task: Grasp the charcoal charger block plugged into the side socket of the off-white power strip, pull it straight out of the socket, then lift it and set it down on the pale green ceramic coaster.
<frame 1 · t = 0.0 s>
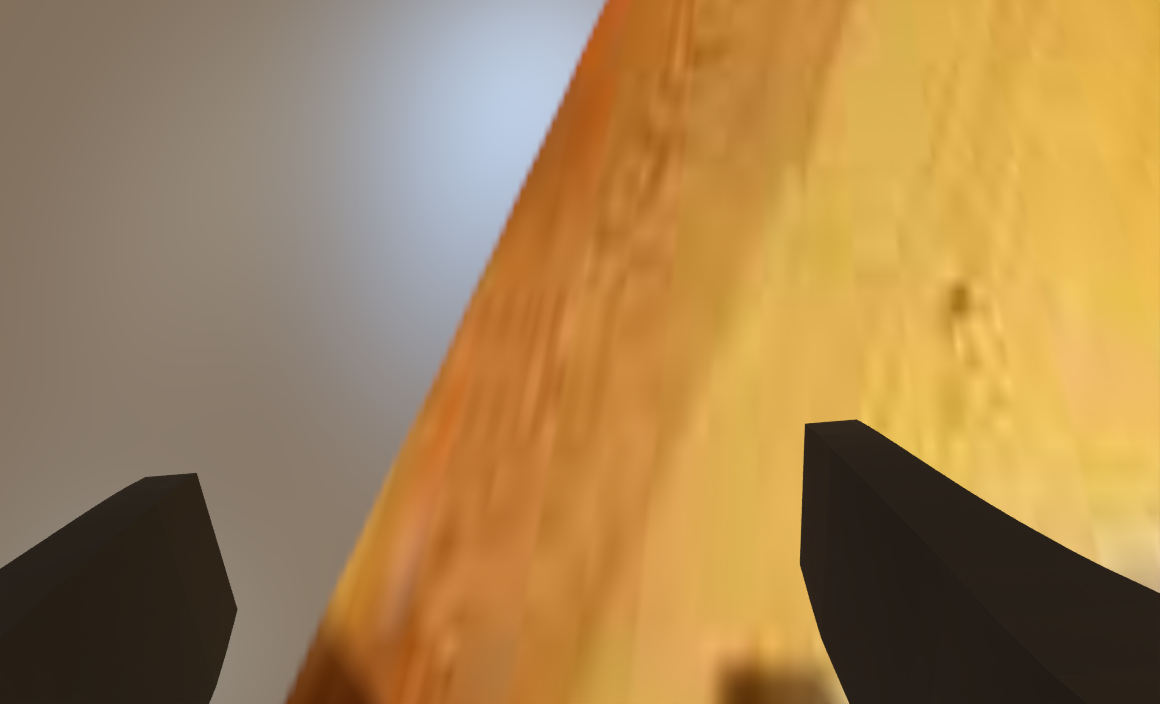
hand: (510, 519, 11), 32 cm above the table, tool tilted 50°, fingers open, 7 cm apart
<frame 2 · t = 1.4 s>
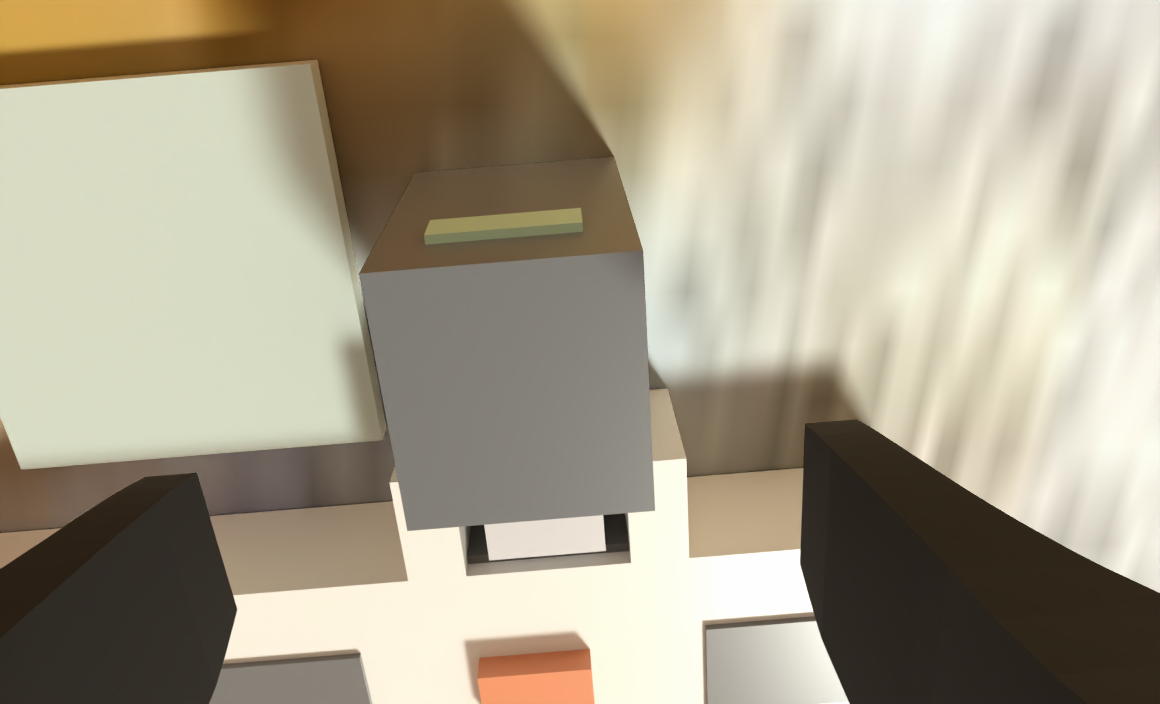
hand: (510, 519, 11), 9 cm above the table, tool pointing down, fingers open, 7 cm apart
charger: (525, 267, 19), on the table
power strip: (439, 599, 23), on the table
coaster: (163, 275, 19), on the table
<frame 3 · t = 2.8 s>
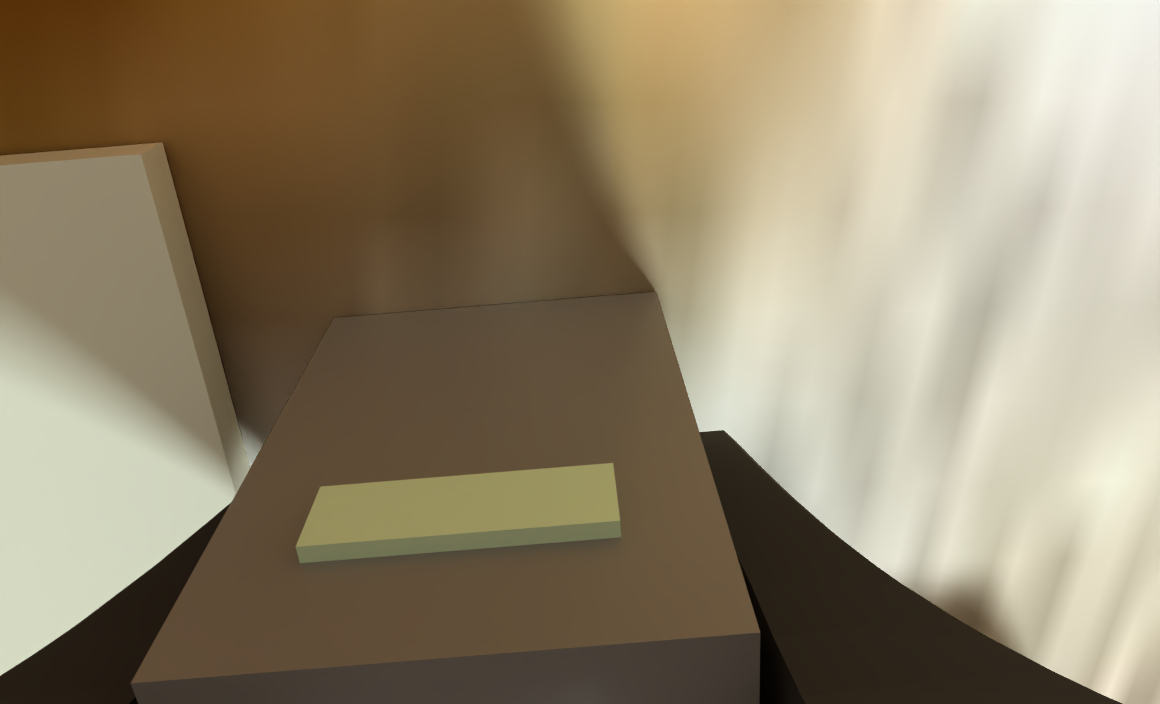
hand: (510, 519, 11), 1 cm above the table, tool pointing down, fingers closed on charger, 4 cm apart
charger: (513, 456, 12), on the table, touching gripper
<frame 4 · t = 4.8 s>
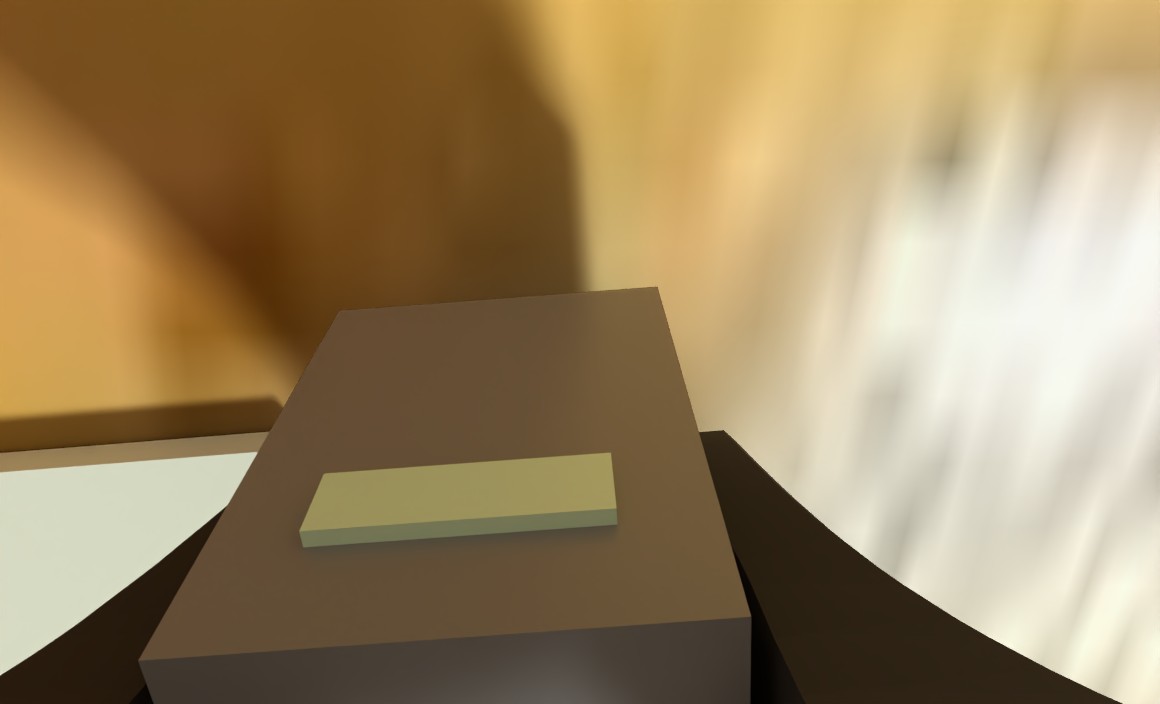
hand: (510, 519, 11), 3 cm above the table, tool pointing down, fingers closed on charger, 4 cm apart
charger: (515, 449, 12), point 2 cm above the table, touching gripper
coaster: (118, 645, 16), on the table
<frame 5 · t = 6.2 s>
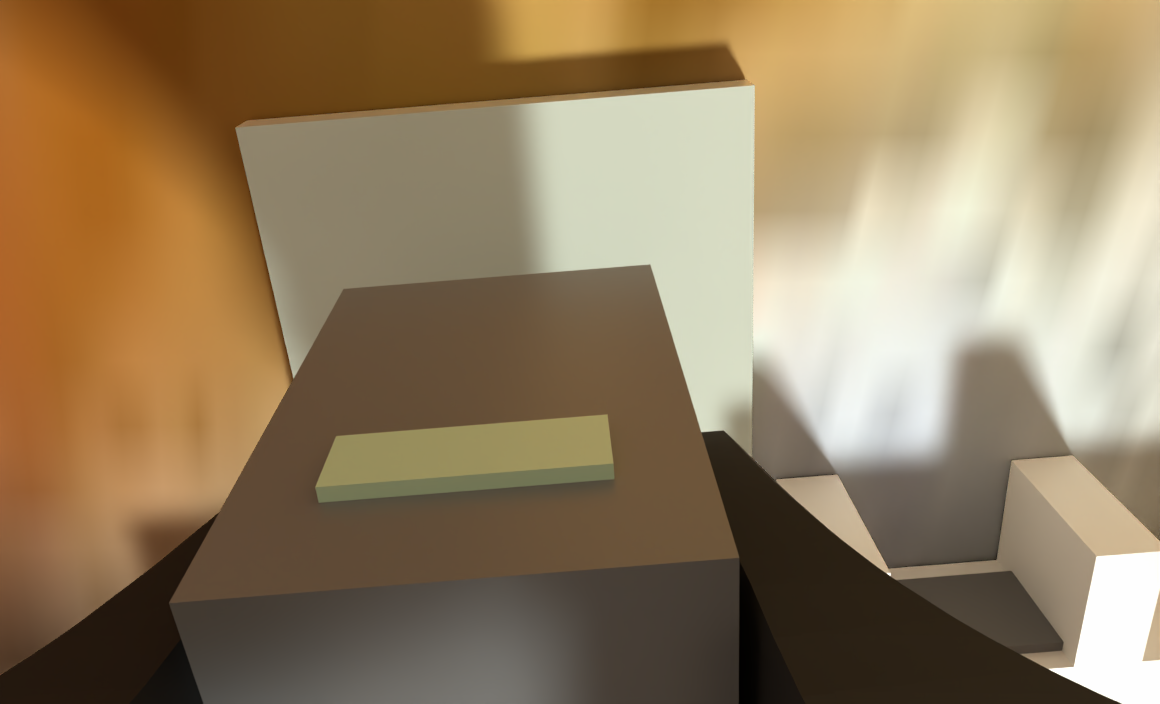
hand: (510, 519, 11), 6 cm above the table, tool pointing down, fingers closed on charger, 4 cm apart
charger: (514, 423, 13), point 4 cm above the table, touching gripper
power strip: (767, 687, 20), on the table
coaster: (522, 329, 16), on the table
when the fingers open (3 cm above the table, at t = 7.1 s): charger stays where it is, resting on coaster.
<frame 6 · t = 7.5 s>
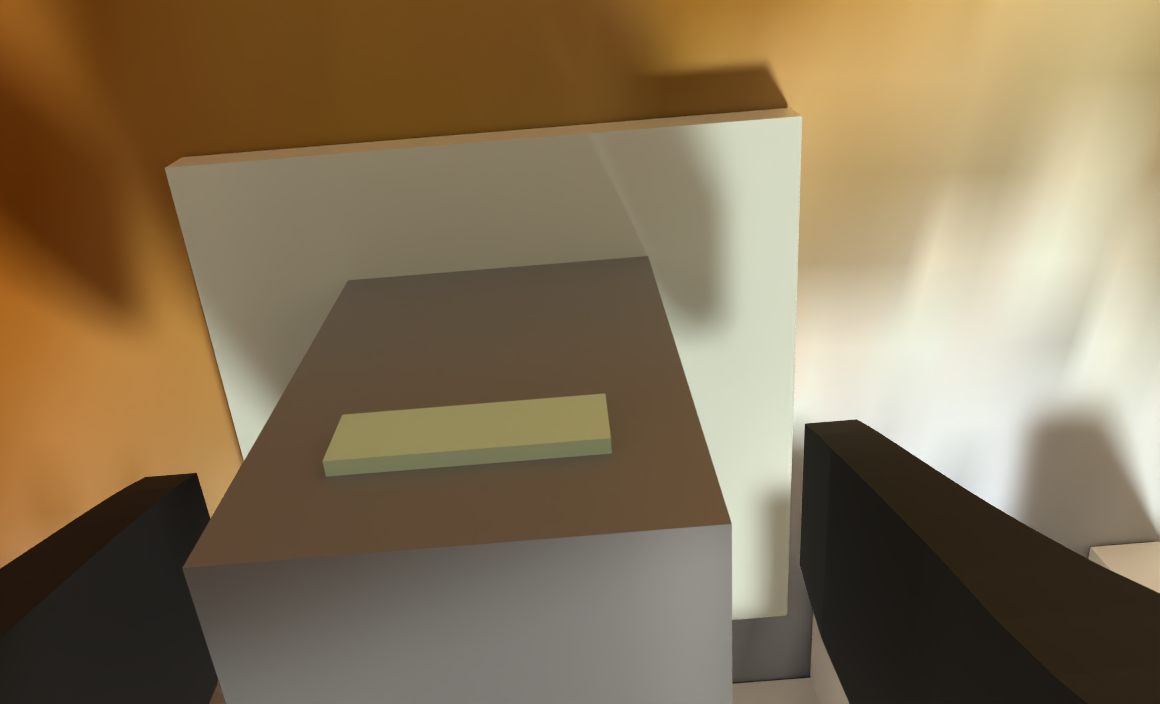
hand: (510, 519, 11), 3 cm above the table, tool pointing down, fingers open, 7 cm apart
charger: (515, 413, 13), point 1 cm above the table, touching coaster
coaster: (517, 401, 14), on the table
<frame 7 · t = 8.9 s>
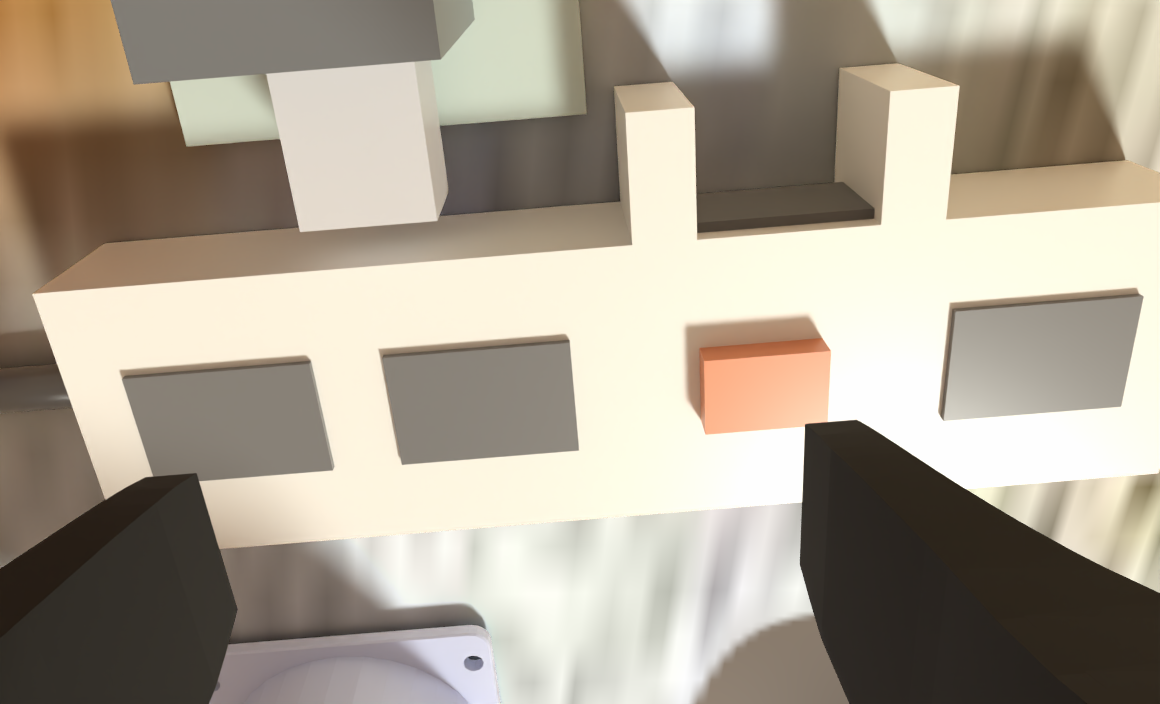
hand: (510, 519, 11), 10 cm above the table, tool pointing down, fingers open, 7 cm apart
power strip: (623, 329, 21), on the table
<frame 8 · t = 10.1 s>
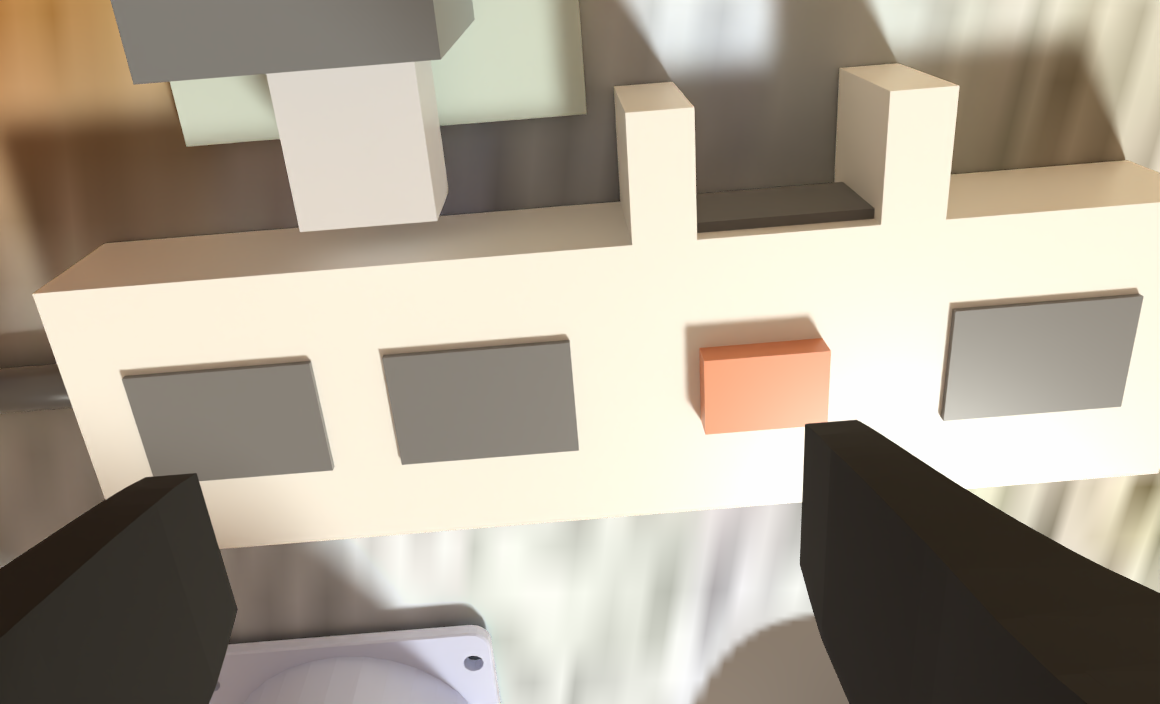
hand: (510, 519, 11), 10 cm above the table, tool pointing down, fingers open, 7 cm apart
power strip: (623, 329, 21), on the table
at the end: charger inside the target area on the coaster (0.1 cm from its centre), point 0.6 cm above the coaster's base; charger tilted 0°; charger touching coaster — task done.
